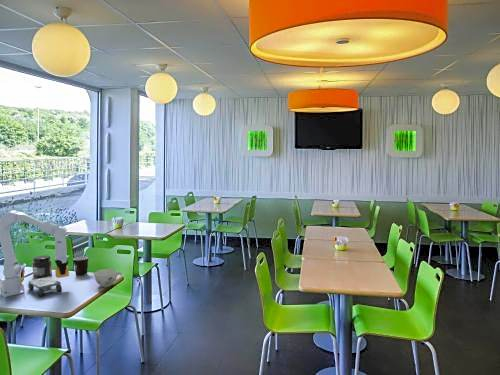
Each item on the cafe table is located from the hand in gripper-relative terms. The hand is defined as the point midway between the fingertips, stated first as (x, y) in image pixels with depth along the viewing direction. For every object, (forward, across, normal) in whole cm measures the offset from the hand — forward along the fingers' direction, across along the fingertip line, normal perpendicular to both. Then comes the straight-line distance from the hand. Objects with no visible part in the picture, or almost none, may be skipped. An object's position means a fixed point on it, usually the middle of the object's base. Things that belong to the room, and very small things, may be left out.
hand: (61, 273), depth 234 cm
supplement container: (+9, +34, +4) cm, 36 cm away
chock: (+2, 0, 0) cm, 2 cm away
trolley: (+9, +2, +8) cm, 13 cm away
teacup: (+9, -8, -22) cm, 26 cm away
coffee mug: (+9, +23, -16) cm, 29 cm away
